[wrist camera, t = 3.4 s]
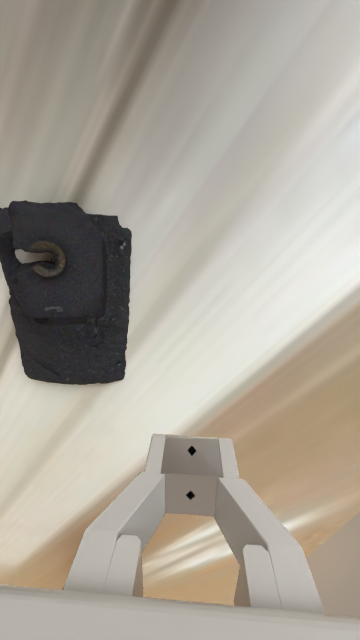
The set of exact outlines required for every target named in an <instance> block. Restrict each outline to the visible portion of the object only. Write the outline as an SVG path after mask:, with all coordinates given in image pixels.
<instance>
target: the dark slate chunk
mask: <svg viewBox="0 0 360 640" xmlns="http://www.w3.org/2000/svg"><path fill="white" fill-rule="evenodd" d="M131 237H132V234H131V231H130V230H129V229H128V228H122V227H121V226H120V225H119V222H118V216H106V215H92V214H86V213H85V212H84V211H83V210H82V209H81V208H80V207H79V206H78V204H77V203H71V202H66V203H42V204H40V203H34V202H28V201H12V202H11V203H10V205H9V208H4V209H2V208H0V262H1V264H2V269H3V272H4V275H5V279H6V282H7V285H8V287H9V293H10V295H11V297H10V299H9V304H10V307H11V315H12V319H13V322H14V326H15V329H16V336H17V338H18V341H19V345H20V350H21V359H22V365H23V367H24V372H25V374H26V375H27V376H28V377H29V378H31V379H35V380H40V381H45V382H53V383H61V384H79V385H82V384H84V385H86V384H94V383H110V382H114V381H119V380H123V378H124V374H125V367H126V360H125V351H126V348H127V347H126V344H127V333H128V323H129V306H128V304H129V302H130V300H129V293H130V282H129V281H130V256H131ZM15 249H22V250H24V251H26V252H33V253H43V252H50V253H52V254H55V255H56V256H54V260H55V262H52V259H51V261H49V262H48V261H37V262H32V263H24V264H22V263H20V262H19V261H18V259H17V258H16V256H15Z"/></svg>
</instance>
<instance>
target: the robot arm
mask: <svg viewBox="0 0 360 640" xmlns="http://www.w3.org/2000/svg"><path fill="white" fill-rule="evenodd" d="M165 513H173V514H193V515H202V516H211V517H214V518H215V520H216V522H217V524H218V526H219V528H220V530H221V531H222V533H223V535H224V537H225V539H226V541H227V543H228V544H229V546H230V548H231V550H232V552H233V554H234V556H235V557H236V559H237V561H238V563H239V565H240V569H239V574H238V580H237V586H236V591H235V597H234V605H225V604H214V603H203V602H191V601H180V600H169V599H158V598H147V597H143V577H142V554H141V553H142V551H143V550H144V548H145V546H146V545H147V543H148V542H149V540H150V538H151V537H152V535H153V533H154V532H155V530H156V529H157V527H158V525H159V524H160V522H161V521H162V519H163V517H164V516H165ZM0 640H360V617H356V616H345V615H334V614H325V612H324V609H323V606H322V603H321V600H320V598H319V595H318V592H317V589H316V586H315V583H314V580H313V577H312V575H311V572H310V569H309V566H308V563H307V561H306V557H305V555H304V552H303V549H302V547H301V546H300V545H299V543H298V542H297V541H296V540H295V539H294V537H293V536H292V535H291V534H290V533H289V532H288V530H287V529H286V528H285V527H284V526H283V525H282V523H281V522H280V521H279V520H278V519H277V517H276V516H275V515H274V514H273V513H272V512H271V510H270V509H269V508H268V507H267V506H266V505H265V503H264V502H263V501H262V500H261V499H260V497H259V496H258V495H257V494H256V493H255V492H254V490H253V489H252V488H251V487H250V486H249V484H248V483H247V482H246V481H245V480H244V479H240V477H239V472H238V467H237V462H236V457H235V452H234V447H233V441H232V439H231V438H212V437H189V436H178V435H163V434H153V436H152V438H151V443H150V448H149V453H148V457H147V462H146V467H145V472H140V473H139V474H138V475H137V476H136V477H135V478H134V479H133V480H132V481H131V483H130V484H129V485H128V486H127V487H126V488H125V489H124V490H123V491H122V492H121V493H120V494H119V495H118V496H117V497H116V498H115V499H114V500H113V501H112V502H111V503H110V505H109V506H108V507H107V508H106V509H105V510H104V511H103V512H102V513H101V514H100V515H99V516H98V517H97V518H96V519H95V520H94V521H93V522H92V523H91V524H90V525H89V527H88V528H87V529H86V530H85V532H84V535H83V537H82V540H81V543H80V545H79V548H78V551H77V553H76V556H75V559H74V561H73V564H72V567H71V569H70V572H69V575H68V577H67V580H66V583H65V585H64V588H63V590H58V589H47V588H35V587H24V586H13V585H2V584H0Z"/></svg>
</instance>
